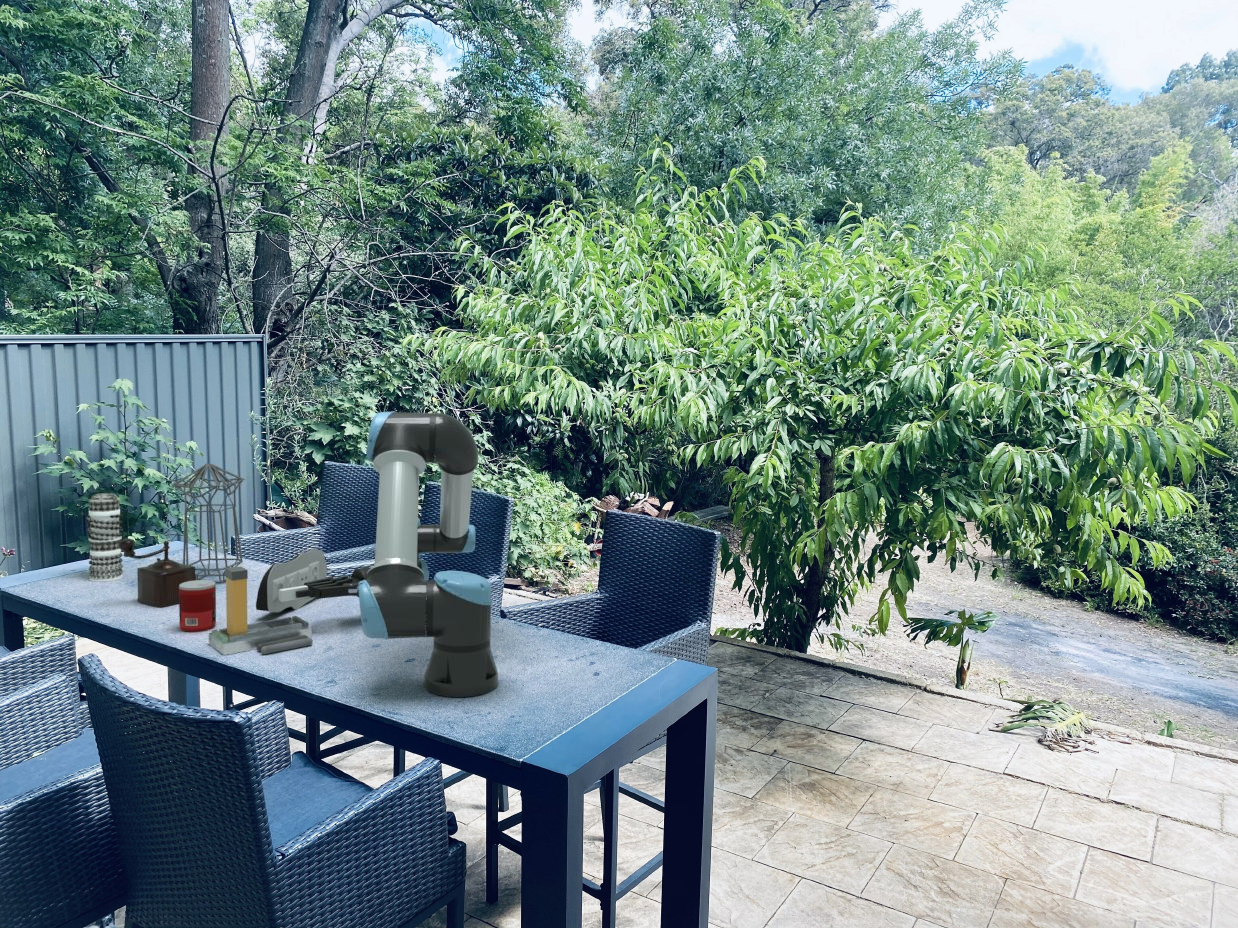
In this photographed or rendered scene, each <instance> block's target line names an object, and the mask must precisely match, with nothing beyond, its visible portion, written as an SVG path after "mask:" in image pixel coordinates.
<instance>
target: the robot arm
mask: <svg viewBox="0 0 1238 928" xmlns="http://www.w3.org/2000/svg"><path fill="white" fill-rule="evenodd" d="M367 439H368V440H367V446H366V457H367V458H366V459H367V460H368V462H369V463H372V465H373V468H374V470H375V472H377V473H378V474H379V481H378V496H377V497H378V501H377V517H376V536H375V549H374V550H375V554H374V565H372V566H365V567H358V568H355V569H354V570H353V571H352V574H351V575H350V576H348V575H341V576H340V577H337V576H336V575H331V576H327V577H326V578H324V579H319V580H315V581H311V582H306V583H304V586H299V587H292V588H286V589H279V601H281V602H284V601H290V600H296V599H302V598H308V596H309V597H310V598H313V597H314V598H315V600H319V599H320V600H321V599H329V598H338V597H357V598H358V601H359V612H360V619H361V627H362V633H363V635H365V637H366V638H369V639H383V640H389V639H392V640H393V639H412V638H415V639H416V638H417V639H418V638H433V649H432V653H431V656H430V659H429V661H428V663H427V667H426V669H425V672H424V678H423V679H424V688H425V689H426V690H427V691H428V692H430V693H432V694H434V695H438V696H442V697H450V698H468V697H473V696H480V695H483V694H486V693H489V692H491V691H493V690H494V689H495V688H496V687H497V686H498V684H499V672H498V668H497V666H496V661H495V659H494V656H493V652H492V648H491V636H492V635H491V632H492V631H491V629H492V627H491V626H492V625H491V623H492V621H491V618H492V604H493V600H492V586H491V583H490V581H489V580H488V579H487V578H485V577H484V576H481V575H478V574H476V573H472V572H467V571H462V570H460V571H459V570H446V571H445V570H444V571H443V570H442V571H438V572H437V573H435V575H434V576H433V579H429V578H430V577H429V576H430V571H429V568H428V567H429V566H428V564H427V563H426V561H425V560H424V559H420V557H421V556H420V554H433V553H435V554H438V553H439V554H463V553H464V554H465V553H472V552H474V551H475V549H476V526H474V525H473V524H470V516H471V503H472V502H471V501H472V489H473V487H472V485H473V477H474V476H473V472H474V471H475V470H476V469H477V466H478V463H479V450H478V446H477V442H476V440H475V437H474V435H473V434H472V433H471V431H470V430H469V428H467V426H465V424H463V422H461V420H459V419H457V418H455V417H453V416H451V415H449V414H447V413H442V412H435V413H434V412H431V413H430V412H397V411H395V410H393V411H387V412H386V411H384V412H382V411H381V412H377V413H376V414H375V415H374V416H373V417H372V420H371V423H370V427H369V431H368V438H367ZM427 464H437V465H438V468H439V469H440V470H441V472H440V473H441V475H440V479H441V480H440V505H439V506H440V508H439V509H440V512H439V514H440V515H439V524H421V520H420V518H419V498H420V497H419V495H420V494H419V491H420V488H419V486H420V476H421V474H423V473H424V472H425V470H426V469H427ZM314 598H313V599H314Z"/></svg>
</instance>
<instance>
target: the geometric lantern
mask: <svg viewBox="0 0 1238 928" xmlns="http://www.w3.org/2000/svg"><path fill="white" fill-rule="evenodd" d="M208 470H209V472H210V475H211V477H212V479H211V478H205V477H206V474H207V471H208ZM223 473H225V474H227V475H230V477H231V476H232V477H234V478H228V476H226V475H224V474H223ZM189 477H190V478H189ZM185 480H186V481H185ZM198 480H200V481H201V482H200V483H199V486H194V485H195V484H196V483H197V482H198ZM245 480H246V479H245V478H243V477H240V476H238V475H237V474H234V473H232V472H230V471H227V470H225V469H224V468H222V467H219V466H218V465H215V464H213V463H205V464H204V465H201V466H200V467H199V468H197V469H196V470H194V471H192V472H191V473H189V474H187V475H186V476H184V477H182V478H181V479H179V480H177V481H176V482H174V483H172V484H171V486H172V487H174V488H175V489H176V490H179V491H180V492H181V493H183V494H184V523H183V525H184V526H183V549H182V550H183V556H182V564H185V565H189V566H194V565H196V564H197V563H201V566H202V567H203V568H197V567H195V571H199V572H197V573H195V579H196V580H202V579H203V578H205V577H218V579H219V581H218V580H217V581H216V580H215V581H214V580H213V581H214V582H215V584H216V583H219V584H221V583H226V579H225V577H226V575H225V568H232V567H239V565H241V563H243V553H242V546H241V541H240V533H239V526H238V519H237V512H236V507H237V505H236V504H237V503H236V502H237V500H236V491H237V489H238V488H239V487H240V486H241V485H242V483H243V481H245ZM233 481H234V482H233ZM183 482H184V483H183ZM210 482H214V484H215V485H214V484H212V483H210ZM204 483H205V484H207V485H208V486H203V484H204ZM221 483H222V484H221ZM220 487H222V488H220ZM231 487H232V488H233V487H234V489H232V491H231ZM182 488H183V489H182ZM186 488H188V489H189V491H186ZM193 489H195V490H196V489H198V492H199V495H195V494H194V492H193ZM204 489H208V490H206V491H205V492H203V493H202V492H201V490H204ZM214 490H215V491H214ZM212 491H214V492H213V494H212V496H210V498H209V500H207V499H206V497H205V496H206V495H207V494H209V493H210V492H212ZM218 491H222V492H223V491H224V492H225V493H226V494H225V495H226V496H225V498H224V500H223V502H222V504H215V503H214V504H212V503H211V502H212V500H213V498H214V497H215V496H216V493H217V492H218ZM228 491H229V492H228ZM231 495H233V501H232V498H231V497H230V496H231ZM187 496H188V497H190V499H189V502H188V504H187ZM198 498H202V499H203V501H204V502H205V503H206V504H202V503H201V501H200V500H199V499H198ZM227 498H229V501H230V503H231V504H224V503H225V502H226V500H227ZM193 499H195V500H196V501H197V502H198V503H199V504H198V505H195V506H193V507H189V506H190V504H191V502H192V500H193ZM214 506H215V507H216V506H217V507H218V506H220V507H219V509H218V510H215V508H213V507H214ZM223 506H224V507H225V506H226V507H227V506H228V507H227V508H224V509H222V508H223ZM229 506H230V507H229ZM198 507H199V510H192V509H195V508H198ZM203 507H206V510H202V509H203ZM209 508H210V510H209ZM230 509H232V513H233V514H232V515H233V528H234V539H235V540H234V541H235V553H236V555H235V556H236V558H227V552H226V544H225V543H226V542H225V536H224V535H225V534H224V525H223V519H222V518H223V516H222V512H224V511H227V510H230ZM188 512H189V513H193V512H194V513H199V553H198V554H199V559H198V560H196V561H193V562H191V563H189V544H188V543H189V541H188V540H189V537H188V535H189V534H188V533H189V532H188ZM203 513H206V528H207V534H206V535H207V554H208V555H207V557H208V558H202V541H203V539H202V538H203V537H202V534H203V533H202V531H203V529H202V528H203V525H202V523H203V519H202V517H203V515H202V514H203ZM209 513H212V523H213V541H214V543H213V544H214V554H215V558H212V557H211V542H210V541H211V540H210V539H211V537H210V536H211V535H210V519H209V518H210V517H209V515H210V514H209ZM215 513H218V514H219V522H220V531H221V540H222V547H223V548H222V549H223V556H224V557H223V558H219V557H218V546H217V532H216V518H215ZM204 561H208V563H207V568H206V566H205V564H204ZM211 561H215V568H210V566H211V565H210V564H211V563H210V562H211ZM219 561H224V565H225V567H221V568H219ZM228 561H234V563H233V564H231V565H229V566H228ZM220 571H223V573H222V574H221V572H220ZM203 572H204V574H202V573H203ZM210 572H217V574H215V573H214V574H210Z"/></svg>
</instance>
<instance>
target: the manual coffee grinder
mask: <svg viewBox="0 0 1238 928" xmlns="http://www.w3.org/2000/svg"><path fill="white" fill-rule="evenodd" d="M169 543H170V542H169V541H168V540H164V541H163V546H162V547H163V548H161V549H159V550H156V551H153V552H150V553H146V554H142V555H136V551H135V550H134V547H135V545H136V542H135V540H134V539H133V538H122V539H120V542H119V543H118V547H119V548H120V549H121V552H123V557H125V558H131V559H135V560H138V559H139V560H141V559H145V558H150V557H153V556H156V555H158V554H161V553H164V558H163V559H161V558H159V557H157V558H156V561H155V562H154V563H151V564H149V565H147V566H143V567H138V568H137V569H136V573H137V599H136V602H138V603H140V604H142V605H147V606H149V607H153V608H159V609H163V608H169V607H173V606H177V605H179V585H180V584H182V583H184V582H188V581H195V580H196V579H195V574H196V570H195V568H196V567H195V566H194V565H192V566H189V564H188V565H186V563H185V564H183V563H180V562H177V561H175V560H173V559H170V558H169V549H170V545H169Z"/></svg>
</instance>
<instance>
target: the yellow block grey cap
mask: <svg viewBox="0 0 1238 928" xmlns="http://www.w3.org/2000/svg"><path fill="white" fill-rule="evenodd" d="M224 568H225V567H224ZM224 571H225V575H226V576H225V580H226V581H225V585H226V586H225V587H226V588H225V592H226V594H225V595H226V599H225V600H226V602H225V605H226V607H225V609H226V628H227V633H228V634H229V635H235V634H241V633H246V632H247V624H248V576H249V575H248V573H249V571H248V569H247V568H244V566H243V567H242V566H237V567H235V566H233V567H232V568H231V567H230V568H225V570H224Z"/></svg>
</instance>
